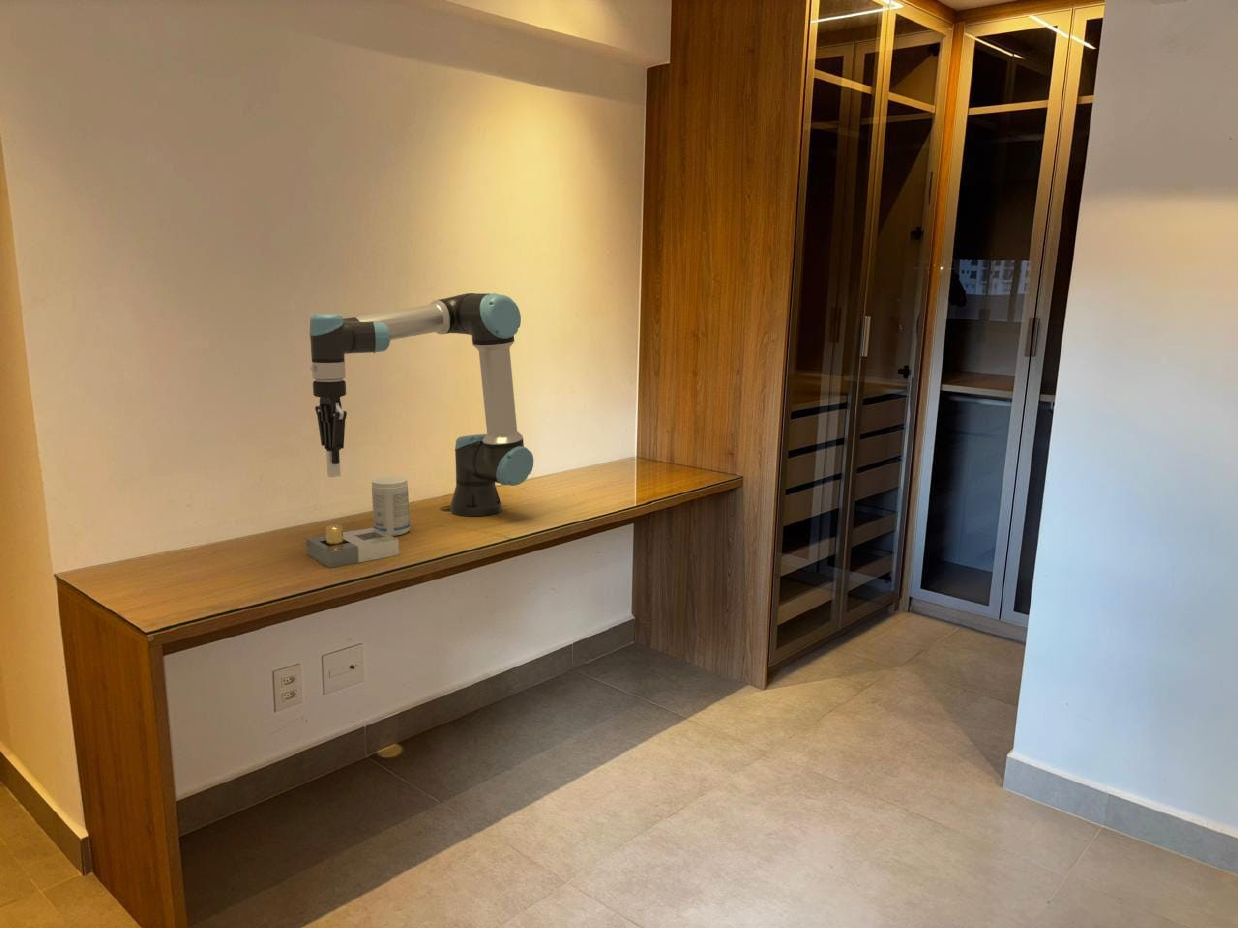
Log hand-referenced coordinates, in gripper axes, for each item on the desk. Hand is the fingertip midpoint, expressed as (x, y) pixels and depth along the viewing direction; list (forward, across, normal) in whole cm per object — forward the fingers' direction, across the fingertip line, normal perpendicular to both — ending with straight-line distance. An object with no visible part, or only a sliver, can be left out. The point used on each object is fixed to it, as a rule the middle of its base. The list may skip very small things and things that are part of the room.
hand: (334, 476), depth 218 cm
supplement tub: (+21, -12, +21) cm, 32 cm away
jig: (+20, +1, +4) cm, 21 cm away
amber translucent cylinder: (+20, +1, -1) cm, 20 cm away
